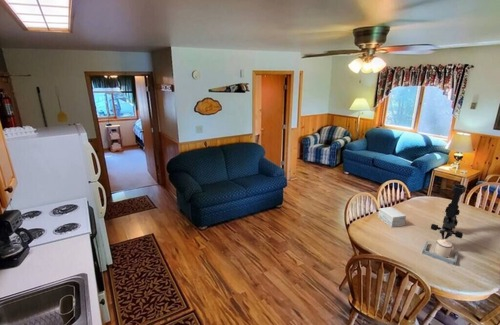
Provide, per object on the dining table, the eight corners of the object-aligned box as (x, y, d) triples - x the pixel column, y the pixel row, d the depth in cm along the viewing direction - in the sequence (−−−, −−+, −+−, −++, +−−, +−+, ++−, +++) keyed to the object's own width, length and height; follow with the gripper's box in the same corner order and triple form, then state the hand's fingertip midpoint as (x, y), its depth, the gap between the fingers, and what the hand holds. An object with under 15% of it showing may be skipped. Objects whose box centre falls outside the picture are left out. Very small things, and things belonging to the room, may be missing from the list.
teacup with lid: (452, 258, 186) (456, 243, 183) (439, 257, 187) (443, 243, 183) (441, 247, 198) (445, 233, 194) (428, 247, 198) (432, 233, 194)
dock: (426, 243, 202) (426, 240, 201) (457, 254, 190) (458, 251, 189) (422, 253, 191) (422, 250, 190) (455, 265, 179) (456, 262, 178)
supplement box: (404, 225, 226) (406, 215, 223) (391, 227, 223) (393, 217, 220) (390, 215, 242) (391, 206, 239) (377, 217, 239) (379, 208, 236)
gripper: (434, 214, 197) (428, 233, 192) (466, 222, 185) (460, 243, 181) (433, 219, 205) (427, 238, 201) (464, 228, 193) (458, 248, 189)
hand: (443, 241), depth 192 cm, fingers closed
